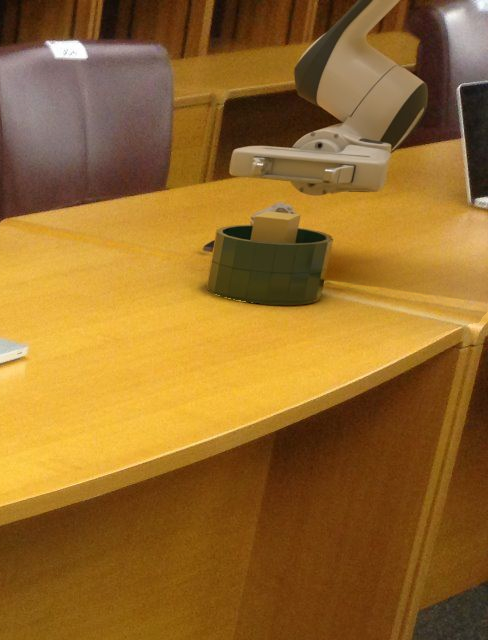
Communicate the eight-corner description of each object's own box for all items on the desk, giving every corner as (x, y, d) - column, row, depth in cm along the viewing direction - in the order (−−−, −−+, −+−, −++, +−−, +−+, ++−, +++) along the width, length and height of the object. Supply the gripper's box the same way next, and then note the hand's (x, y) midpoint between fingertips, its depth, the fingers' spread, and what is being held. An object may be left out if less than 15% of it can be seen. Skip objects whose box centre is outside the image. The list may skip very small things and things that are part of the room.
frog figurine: (281, 254, 236) (292, 208, 233) (237, 247, 240) (247, 201, 237) (296, 249, 240) (307, 203, 237) (253, 241, 244) (263, 196, 241)
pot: (333, 291, 212) (346, 232, 208) (301, 310, 201) (314, 248, 198) (227, 277, 220) (237, 220, 216) (190, 295, 210) (201, 235, 206)
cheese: (286, 289, 211) (300, 214, 207) (274, 295, 208) (289, 219, 203) (252, 284, 214) (266, 211, 209) (240, 290, 210) (254, 215, 206)
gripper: (251, 132, 220) (218, 142, 211) (404, 144, 209) (377, 155, 199) (243, 178, 223) (210, 189, 213) (393, 192, 211) (366, 205, 202)
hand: (292, 173), depth 206 cm, fingers open, 8 cm apart
